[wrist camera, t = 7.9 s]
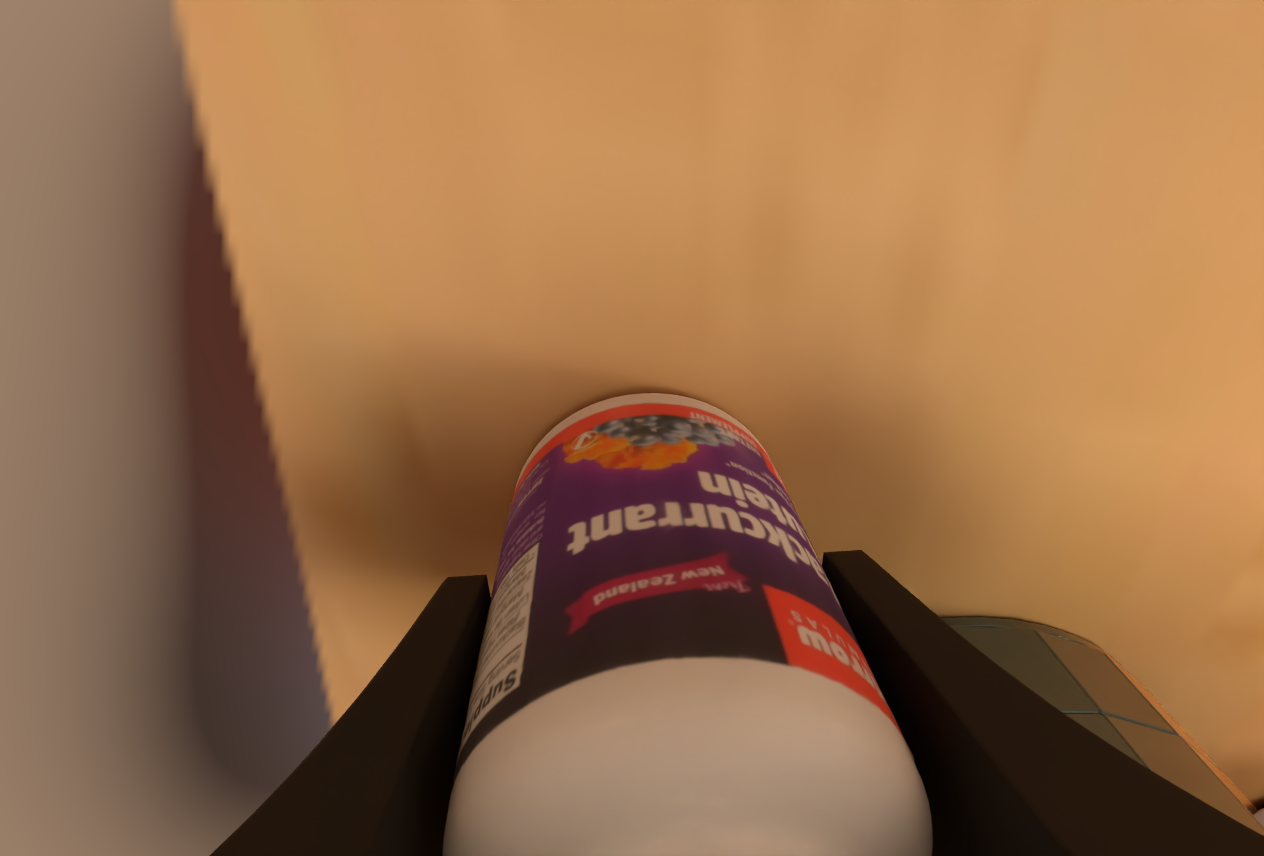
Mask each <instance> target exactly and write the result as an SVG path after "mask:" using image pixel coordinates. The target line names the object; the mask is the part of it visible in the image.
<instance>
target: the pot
mask: <svg viewBox="0 0 1264 856" xmlns="http://www.w3.org/2000/svg"><path fill="white" fill-rule="evenodd" d="M941 619H942V620H943V621H944V622H945V623H947V624H948V625H949V626H950V627H951V628H953V629H954V630H955V631H956V632H957V633H959V634H960V635H961V636H962V637H964V638H965V639H966V640H967V641H968V642H970V643H971V644H972V645H973V646H975V647H976V648H977V649H978V650H980V651H981V652H982V653H983V654H985V655H986V656H987V657H989V658H990V659H991V660H992V661H994V662H995V663H996V664H997V665H999V666H1000V667H1001V668H1003V669H1004V670H1005V671H1007V672H1008V673H1009V674H1011V675H1012V676H1013V677H1015V678H1016V679H1017V680H1019V681H1020V682H1021V683H1023V684H1024V685H1025V686H1027V687H1028V688H1029V689H1031V690H1032V691H1034V692H1035V693H1036V694H1038V695H1039V696H1040V697H1042V698H1043V699H1044V700H1046V701H1047V702H1049V703H1050V704H1051V705H1053V706H1054V707H1056V708H1057V709H1058V710H1060V711H1061V712H1063V713H1064V714H1066V715H1067V716H1068V717H1070V718H1071V719H1073V720H1074V721H1076V722H1077V723H1079V724H1080V725H1082V726H1083V727H1085V728H1086V729H1088V730H1089V731H1091V732H1092V733H1094V734H1095V735H1097V736H1099V737H1100V738H1102V739H1103V740H1105V741H1106V742H1108V743H1109V744H1111V745H1112V746H1114V747H1115V748H1117V749H1118V750H1120V751H1121V752H1123V753H1124V754H1126V755H1127V756H1129V757H1130V758H1132V759H1134V760H1135V761H1137V762H1138V763H1140V764H1142V765H1143V766H1145V767H1147V768H1148V769H1150V770H1151V771H1153V772H1155V773H1156V774H1158V775H1159V776H1161V777H1163V778H1164V779H1166V780H1168V781H1169V782H1171V783H1173V784H1175V785H1176V786H1178V787H1180V788H1181V789H1183V790H1185V791H1186V792H1188V793H1190V794H1192V795H1193V796H1195V797H1197V798H1198V799H1200V800H1202V801H1203V802H1205V803H1207V804H1209V805H1210V806H1212V807H1214V808H1215V809H1217V810H1219V811H1220V812H1222V813H1224V814H1226V815H1227V816H1229V817H1231V818H1232V819H1234V820H1236V821H1238V822H1240V823H1241V824H1243V825H1245V826H1247V827H1249V828H1250V829H1252V830H1254V831H1256V832H1258V833H1260V834H1261V835H1263V836H1264V816H1263V815H1262V814H1261V813H1260V812H1259V811H1258V810H1257V808H1256V807H1255V806H1254V805H1253V804H1252V803H1251V802H1250V801H1249V800H1248V799H1247V798H1246V797H1245V796H1244V794H1243V793H1242V792H1241V791H1240V790H1239V789H1238V788H1237V787H1236V786H1235V785H1234V784H1233V783H1232V781H1231V780H1230V779H1229V778H1228V777H1227V776H1226V775H1225V774H1224V773H1222V771H1221V770H1220V769H1219V768H1218V766H1217V765H1216V764H1215V763H1214V762H1213V761H1212V760H1211V759H1210V758H1209V757H1208V756H1207V755H1206V753H1205V752H1204V751H1203V750H1202V749H1201V748H1200V747H1199V746H1198V745H1197V744H1196V743H1195V742H1194V740H1193V739H1192V738H1191V737H1190V736H1189V735H1188V734H1187V733H1186V732H1185V731H1184V730H1183V729H1182V727H1181V726H1180V725H1179V724H1178V723H1177V722H1176V721H1175V720H1174V719H1173V718H1172V717H1171V716H1170V715H1169V713H1168V712H1167V711H1166V710H1165V709H1164V708H1163V707H1162V706H1161V705H1160V704H1159V703H1158V702H1157V700H1156V699H1155V698H1154V697H1153V696H1152V695H1151V694H1150V693H1149V692H1148V691H1147V690H1146V689H1145V688H1144V687H1143V686H1142V685H1141V684H1140V683H1139V682H1138V681H1136V680H1135V679H1134V678H1133V677H1132V676H1131V675H1130V674H1128V673H1127V672H1126V670H1125V669H1124V668H1123V667H1122V666H1121V665H1120V664H1119V663H1118V662H1117V661H1116V660H1114V659H1113V658H1112V657H1111V656H1109V655H1108V654H1107V653H1105V652H1104V651H1103V650H1102V649H1100V648H1099V647H1097V646H1095V645H1093V644H1091V643H1089V642H1087V641H1085V640H1083V639H1081V638H1080V637H1078V636H1076V635H1073V634H1070V633H1067V632H1064V631H1061V630H1058V629H1055V628H1052V627H1049V626H1046V625H1041V624H1036V623H1031V622H1026V621H1020V620H1015V619H1002V618H989V617H960V618H941Z"/></svg>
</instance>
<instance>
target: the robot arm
mask: <svg viewBox="0 0 1264 856" xmlns="http://www.w3.org/2000/svg"><path fill="white" fill-rule="evenodd" d="M822 567H823V570H824V572H825V574H826V576H827V579H828V580H829V582H830V584H831V586H832V589H833V591H834V594H835V595H836V597H837V599H838V601H839V603H840V606H841V608H842V610H843V613H844V615H845V617H846V619H847V621H848V623H849V625H850V627H851V629H852V631H853V634H854V636H855V638H856V640H857V642H858V644H859V646H860V648H861V650H862V652H863V655H864V657H865V659H866V661H867V663H868V665H869V667H870V669H871V671H872V673H873V675H874V677H875V680H876V682H877V684H878V686H879V688H880V690H881V692H882V694H883V696H884V698H885V700H886V703H887V704H888V706H889V708H890V710H891V712H892V714H893V716H894V718H895V720H896V722H897V724H898V726H899V728H900V730H901V732H902V735H903V737H904V739H905V741H906V743H907V745H908V747H909V749H910V750H911V752H912V754H913V756H914V762H915V765H916V768H917V770H918V772H919V774H920V777H921V779H922V782H923V785H924V787H925V791H926V794H927V798H928V801H929V807H930V812H931V819H932V834H933V848H932V856H1264V836H1263V835H1261V834H1260V833H1258V832H1256V831H1254V830H1252V829H1250V828H1249V827H1247V826H1245V825H1243V824H1241V823H1240V822H1238V821H1236V820H1234V819H1232V818H1231V817H1229V816H1227V815H1226V814H1224V813H1222V812H1220V811H1219V810H1217V809H1215V808H1214V807H1212V806H1210V805H1209V804H1207V803H1205V802H1203V801H1202V800H1200V799H1198V798H1197V797H1195V796H1193V795H1192V794H1190V793H1188V792H1186V791H1185V790H1183V789H1181V788H1180V787H1178V786H1176V785H1175V784H1173V783H1171V782H1169V781H1168V780H1166V779H1164V778H1163V777H1161V776H1159V775H1158V774H1156V773H1155V772H1153V771H1151V770H1150V769H1148V768H1147V767H1145V766H1143V765H1142V764H1140V763H1138V762H1137V761H1135V760H1134V759H1132V758H1130V757H1129V756H1127V755H1126V754H1124V753H1123V752H1121V751H1120V750H1118V749H1117V748H1115V747H1114V746H1112V745H1111V744H1109V743H1108V742H1106V741H1105V740H1103V739H1102V738H1100V737H1099V736H1097V735H1095V734H1094V733H1092V732H1091V731H1089V730H1088V729H1086V728H1085V727H1083V726H1082V725H1080V724H1079V723H1077V722H1076V721H1074V720H1073V719H1071V718H1070V717H1068V716H1067V715H1066V714H1064V713H1063V712H1061V711H1060V710H1058V709H1057V708H1056V707H1054V706H1053V705H1051V704H1050V703H1049V702H1047V701H1046V700H1044V699H1043V698H1042V697H1040V696H1039V695H1038V694H1036V693H1035V692H1034V691H1032V690H1031V689H1029V688H1028V687H1027V686H1025V685H1024V684H1023V683H1021V682H1020V681H1019V680H1017V679H1016V678H1015V677H1013V676H1012V675H1011V674H1009V673H1008V672H1007V671H1005V670H1004V669H1003V668H1001V667H1000V666H999V665H997V664H996V663H995V662H994V661H992V660H991V659H990V658H989V657H987V656H986V655H985V654H983V653H982V652H981V651H980V650H978V649H977V648H976V647H975V646H973V645H972V644H971V643H970V642H968V641H967V640H966V639H965V638H964V637H962V636H961V635H960V634H959V633H957V632H956V631H955V630H954V629H953V628H951V627H950V626H949V625H948V624H947V623H945V622H944V621H943V620H942V619H941V618H939V617H938V616H937V615H936V614H935V613H934V612H932V611H931V610H930V609H929V608H928V607H926V606H925V605H924V604H923V603H922V602H921V601H920V600H918V599H917V598H916V597H915V596H914V595H913V594H911V593H910V592H909V591H908V590H907V589H906V588H905V587H903V586H902V585H901V584H900V583H899V582H898V581H897V580H895V579H894V578H893V577H892V576H891V575H890V574H889V573H887V572H886V571H885V570H884V569H883V568H882V567H881V566H879V565H878V564H877V563H876V562H875V561H874V560H872V559H871V558H870V557H869V556H868V555H867V554H865V553H864V552H863V551H862V550H854V551H839V552H824V555H823V562H822ZM490 601H491V596H490V591H489V586H488V580H487V575H475V576H460V577H448V578H447V579H446V580H445V581H444V582H443V583H442V584H441V586H440V587H439V588H438V590H437V591H436V593H435V594H434V596H433V597H432V599H431V600H430V601H429V603H428V604H427V606H426V607H425V609H424V610H423V611H422V613H421V614H420V616H419V617H418V618H417V620H416V621H415V623H414V624H413V625H412V627H411V628H410V630H409V631H408V632H407V634H406V635H405V636H404V638H403V639H402V641H401V642H400V643H399V645H398V646H397V647H396V649H395V650H394V651H393V653H392V654H391V655H390V656H389V658H388V659H387V660H386V662H385V663H384V664H383V666H382V667H381V668H380V669H379V671H378V672H377V673H376V675H375V676H374V677H373V679H372V680H371V681H370V682H369V684H368V685H367V686H366V688H365V689H364V690H363V691H362V693H361V694H360V695H359V696H358V698H357V699H356V700H355V701H354V702H353V703H352V705H351V706H350V707H349V708H348V709H347V711H346V712H345V713H344V714H343V715H342V717H341V718H340V719H339V720H338V721H337V722H336V724H335V725H334V726H333V727H332V728H331V730H330V731H329V732H328V733H327V734H326V735H325V737H324V738H323V739H322V740H321V741H320V743H319V744H318V745H317V746H316V747H315V748H314V749H313V750H312V752H311V753H310V754H309V755H308V756H307V757H306V758H305V759H304V760H303V762H302V763H301V764H300V765H299V766H298V767H297V768H296V769H295V770H294V771H293V772H292V774H291V775H290V776H289V777H288V778H287V779H286V780H285V781H284V782H283V783H282V784H281V785H280V786H279V787H278V788H277V789H276V790H275V791H274V793H273V794H272V795H271V796H270V797H269V798H268V799H267V800H266V801H265V802H264V803H263V804H262V805H261V806H260V807H259V808H258V809H257V810H256V811H255V812H254V813H253V814H252V815H251V816H250V817H249V818H248V819H247V820H246V821H245V822H244V823H243V824H242V825H241V826H240V827H239V828H238V829H237V830H236V831H235V832H234V833H233V834H232V835H231V836H230V837H228V838H227V839H226V840H225V841H224V842H223V843H222V844H221V845H220V846H219V847H218V848H217V849H216V850H215V851H214V852H213V853H212V854H211V855H210V856H443V838H444V832H445V826H446V820H447V814H448V808H449V802H450V796H451V790H452V785H453V779H454V773H455V768H456V763H457V758H458V754H459V749H460V744H461V740H462V735H463V731H464V726H465V722H466V717H467V712H468V706H469V700H470V696H471V692H472V687H473V681H474V676H475V672H476V668H477V662H478V657H479V652H480V647H481V643H482V639H483V634H484V630H485V626H486V621H487V615H488V610H489V605H490ZM1259 812H1260V813H1261V814H1262V815H1263V816H1264V808H1263V809H1261V810H1259Z"/></svg>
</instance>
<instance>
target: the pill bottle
mask: <svg viewBox="0 0 1264 856" xmlns="http://www.w3.org/2000/svg"><path fill="white" fill-rule="evenodd" d="M932 848H933V834H932V819H931V812H930V807H929V801H928V798H927V794H926V791H925V787H924V785H923V782H922V779H921V777H920V774H919V772H918V770H917V768H916V765H915V762H914V756H913V754H912V752H911V750H910V749H909V747H908V745H907V743H906V741H905V739H904V737H903V735H902V732H901V730H900V728H899V726H898V724H897V722H896V720H895V718H894V716H893V714H892V712H891V710H890V708H889V706H888V704H887V703H886V700H885V698H884V696H883V694H882V692H881V690H880V688H879V686H878V684H877V682H876V680H875V677H874V675H873V673H872V671H871V669H870V667H869V665H868V663H867V661H866V659H865V657H864V655H863V652H862V650H861V648H860V646H859V644H858V642H857V640H856V638H855V636H854V634H853V631H852V629H851V627H850V625H849V623H848V621H847V619H846V617H845V615H844V613H843V610H842V608H841V606H840V603H839V601H838V599H837V597H836V595H835V594H834V591H833V589H832V586H831V584H830V582H829V580H828V579H827V576H826V574H825V572H824V570H823V567H822V565H821V563H820V561H819V559H818V557H817V555H816V553H815V551H814V549H813V547H812V545H811V543H810V540H809V538H808V536H807V534H806V532H805V530H804V528H803V526H802V523H801V521H800V519H799V517H798V515H797V513H796V510H795V508H794V506H793V503H792V501H791V499H790V497H789V495H788V492H787V490H786V488H785V486H784V484H783V482H782V480H781V478H780V476H779V474H778V472H777V470H776V468H775V466H774V465H773V463H772V461H771V459H770V457H769V456H768V454H767V452H766V451H765V449H764V448H763V447H762V445H761V444H760V442H759V441H758V440H757V439H756V437H755V436H754V435H753V434H752V433H751V432H750V431H749V430H748V429H747V428H746V427H745V426H744V425H742V424H741V423H740V422H739V421H737V420H736V419H734V418H733V417H732V416H730V415H729V414H727V413H725V412H723V411H722V410H720V409H718V408H716V407H714V406H712V405H709V404H707V403H705V402H702V401H699V400H696V399H693V398H688V397H684V396H680V395H673V394H661V393H641V394H630V395H624V396H618V397H613V398H610V399H606V400H603V401H600V402H597V403H594V404H592V405H589V406H587V407H585V408H583V409H581V410H579V411H577V412H575V413H574V414H572V415H570V416H569V417H567V418H566V419H564V420H563V421H562V422H560V423H559V424H557V425H556V426H555V427H554V428H553V429H552V430H551V431H549V432H548V433H547V434H546V435H545V437H544V438H543V439H542V440H541V441H540V442H539V444H538V445H537V446H536V447H535V449H534V450H533V452H532V453H531V455H530V456H529V458H528V460H527V461H526V463H525V464H524V467H523V469H522V471H521V473H520V476H519V479H518V482H517V485H516V488H515V492H514V496H513V499H512V502H511V506H510V511H509V516H508V521H507V525H506V530H505V535H504V540H503V545H502V549H501V554H500V559H499V564H498V568H497V573H496V578H495V582H494V587H493V591H492V596H491V601H490V605H489V610H488V615H487V621H486V626H485V630H484V634H483V639H482V643H481V647H480V652H479V657H478V662H477V668H476V672H475V676H474V681H473V687H472V692H471V696H470V700H469V706H468V712H467V717H466V722H465V726H464V731H463V735H462V740H461V744H460V749H459V754H458V758H457V763H456V768H455V773H454V779H453V785H452V790H451V796H450V802H449V808H448V814H447V820H446V826H445V832H444V838H443V856H932Z"/></svg>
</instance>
